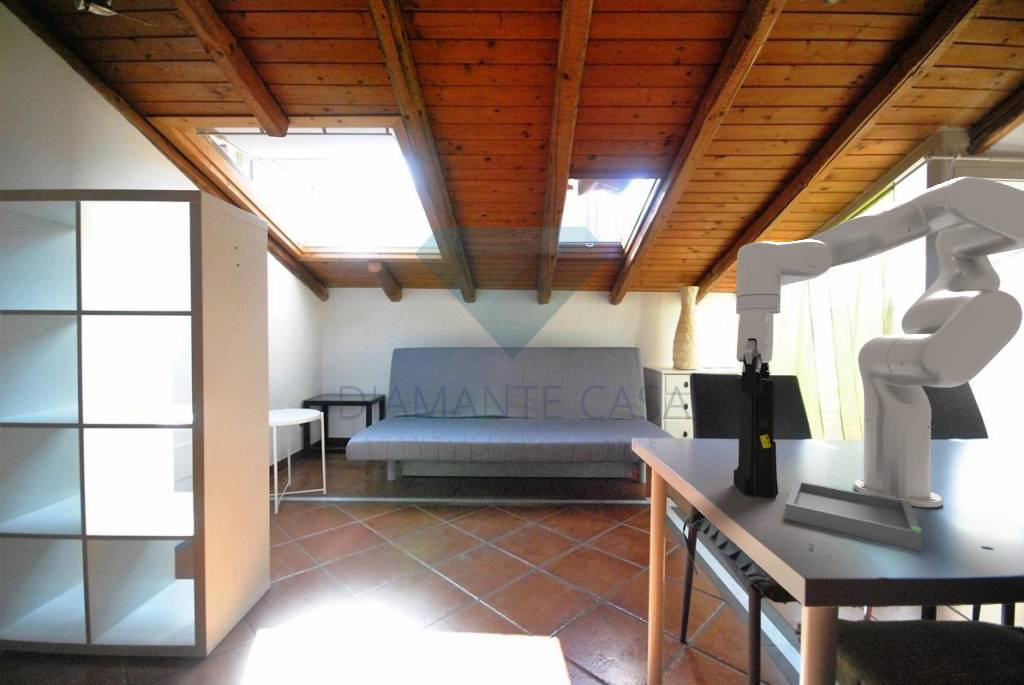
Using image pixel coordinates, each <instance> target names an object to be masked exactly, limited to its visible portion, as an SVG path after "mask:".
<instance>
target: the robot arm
mask: <svg viewBox="0 0 1024 685" xmlns="http://www.w3.org/2000/svg"><path fill="white" fill-rule="evenodd" d="M936 233H937V236H936V238H935V250H936V253H937V256H938V258H939V262H940V267H941V269H940V270H941V271H940V274H939V276H938V277H937V278H936V279H935V281H934V282H933V283H932V284H931V285H930V286H929V287H928V288H927V290H926V291H924V292H923V294H921V295H920V296H919V298H918V299H917V300H916V301H915V302H914V303H913V304H911V306H910V307H909V308H908V309H907V310H906V312H905V313H904V314H903V317H902V320H901V330H902V331H903V333H904V334H890V335H889V334H886V335H882V336H877V337H875V338H872V339H870V340H868V341H867V342H865V344H864V345H863V346H862V347H861V348H860V350H859V353H858V357H857V362H858V363H857V364H858V369H859V373H860V377H861V380H862V381H861V382H862V388H863V399H864V400H863V402H864V403H863V404H864V405H863V406H864V408H863V411H864V412H863V478H861V479H856V480H854V481H853V488H854V489H855V491H856V492H860V493H865V494H870V495H876V496H881V497H886V498H892V499H897V500H902V501H908V502H910V505H911V507H917V508H939V507H941V506H942V505H943V502H944V499H943V497H941V496H940V495H939V494H937V493H935V492H933V491H931V479H932V478H931V476H932V475H931V469H932V468H931V467H932V466H931V464H932V463H931V461H932V460H931V455H932V452H931V451H932V448H931V444H932V443H931V442H932V441H931V440H932V406H931V404H930V400H929V398H928V395H927V394H926V392H925V390H924V388H923V387H929V388H955V387H958V386H963V385H964V384H966V383H968V382H969V381H971V380H972V379H974V378H975V377H977V376H978V375H979V373H980V372H981V371H983V370H984V368H986V366H987V365H988V364H990V363H991V361H992V360H993V359H994V358H995V357H997V355H998V354H999V353H1000V352H1001V351H1003V349H1004V348H1005V347H1006V346H1007V345H1008V344H1009V343H1010V342H1011V341H1012V339H1013V338H1014V337H1015V336H1016V335H1017V333H1018V331H1019V330H1020V328H1021V325H1022V320H1023V308H1022V306H1021V304H1020V302H1019V301H1018V299H1017V298H1016V297H1014V296H1013V295H1012V294H1009V293H1008V292H1005V291H1003V290H1000V286H1001V279H1000V278H1001V277H1000V276H999V274H998V272H997V271H996V270H995V268H994V267H993V265H992V263H991V262H990V259H989V256H990V255H994V254H996V255H997V254H1000V253H1007V252H1010V251H1015V250H1016V251H1017V250H1019V249H1020V250H1021V249H1024V190H1022V189H1020V188H1016V187H1014V186H1011V185H1008V184H1005V183H1002V182H998V181H995V180H993V179H992V180H991V179H987V178H983V177H977V176H961V177H958V178H957V177H956V178H954V179H951V180H949V181H945V182H943V183H941V184H937V185H935V186H933V187H930V188H927V189H925V190H923V191H919V192H917V193H915V194H911V195H910V196H906V197H904V198H902V199H899V200H896V201H894V202H891V203H888V204H887V205H883V206H881V207H879V208H876V209H873V210H871V211H868V212H865V213H862V214H860V215H858V216H855V217H853V218H850V219H848V220H845V221H842V222H841V223H839V224H837V225H835V226H832V227H830V228H828V229H826V230H824V231H822V232H820V233H818V234H815V235H813V236H811V237H808V238H806V239H803V240H797V241H796V240H795V241H788V242H774V241H756V242H749V243H747V244H744V245H742V246H741V247H740V248H739V249H738V251H737V256H736V257H737V258H736V259H737V260H736V268H737V269H736V299H735V300H736V301H735V302H736V306H735V308H736V309H735V314H736V315H739V320H738V329H737V344H736V360H737V361H738V362H739V363H742V368H741V370H742V372H741V377H742V387H741V391H742V393H747V394H761V384H762V378H765V379H771V371H770V362H771V361H772V359H773V348H774V346H773V345H774V314H776V315H777V314H780V313H781V296H782V295H781V290H782V289H781V288H782V286H786V285H790V284H794V283H799V282H804V281H809V280H812V279H815V278H817V277H820V276H822V275H824V274H825V273H826V272H827V271H828V270H830V268H834V267H837V266H838V267H839V266H842V265H846V264H851V263H855V262H859V261H862V260H865V259H869V258H872V257H875V256H877V255H880V254H883V253H885V252H888V251H891V250H893V249H896V248H898V247H901V246H903V245H906V244H909V243H911V242H913V241H917V240H919V239H922V238H924V237H926V236H929V235H932V234H936Z"/></svg>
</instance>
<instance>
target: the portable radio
mask: <svg viewBox="0 0 1024 685" xmlns="http://www.w3.org/2000/svg"><path fill="white" fill-rule="evenodd" d="M741 387H742V376H739V377H734V390H735V391H738V394H739V395H738V396H739V397H738V398H739V399H738V400H739V401H738V409H739V411H738V462H737V464H738V465H737V468H735V469H734V470H733V485H734V487H735V488H736V489H737V490H738V491H740V493H741V494H743V495H744V496H748V497H749V496H750V497H759V498H769V499H776V498H777V496H778V495H779V487H778V486H779V485H778V473H777V472H778V471H777V470H778V468H777V443H776V441H774V440H775V437H774V433H775V432H774V431H775V430H774V428H775V427H774V423H775V421H776V420H775V416H776V414H775V413H776V412H775V408H776V407H775V402H776V401H775V400H776V399H775V395H776V394H775V390H776V386H775V382H774V380H773V379H771V378H770V379H765V378H762V384H761V394H747V393H742V391H741Z"/></svg>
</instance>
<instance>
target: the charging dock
mask: <svg viewBox="0 0 1024 685" xmlns="http://www.w3.org/2000/svg"><path fill="white" fill-rule="evenodd" d="M912 507H913V506H911V505H910V502H908V501H902V500H897V499H892V498H886V497H881V496H876V495H870V494H865V493H860V492H858V491H853V490H849V489H843V488H837V487H832V486H826V485H822V484H817V483H812V482H808V481H807V482H805V481H801V480H795V481H794V484H793V486H792V488H791V491H790V494H789V495H788V498H787V500H786V503H785V520H789V521H792V522H797V523H801V524H805V525H810V526H813V527H818V528H821V529H826V530H831V531H834V532H839V533H843V534H847V535H851V536H855V537H858V538H864V539H868V540H872V541H875V542H880V543H884V544H888V545H892V546H897V547H901V548H904V549H908V550H913V551H916V552H922V528H921V527H920V526H919V523H918V521H917V518H916V515H915V512H914V510H913V508H912Z"/></svg>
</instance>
